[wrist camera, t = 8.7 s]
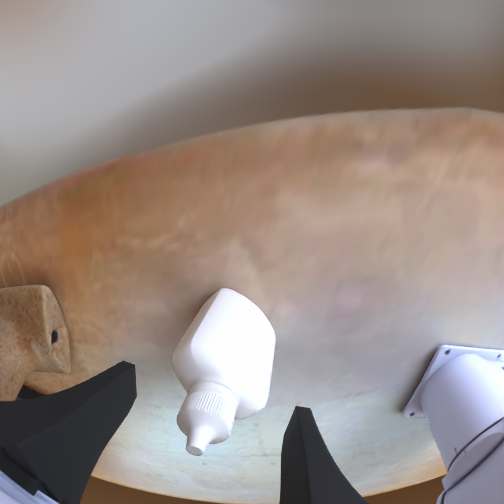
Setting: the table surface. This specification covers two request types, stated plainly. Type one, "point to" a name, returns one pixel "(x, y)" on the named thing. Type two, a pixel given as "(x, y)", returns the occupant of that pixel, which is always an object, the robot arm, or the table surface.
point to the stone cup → (30, 337)
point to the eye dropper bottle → (223, 368)
